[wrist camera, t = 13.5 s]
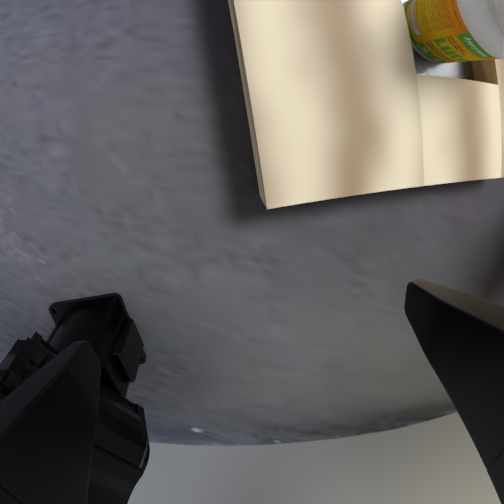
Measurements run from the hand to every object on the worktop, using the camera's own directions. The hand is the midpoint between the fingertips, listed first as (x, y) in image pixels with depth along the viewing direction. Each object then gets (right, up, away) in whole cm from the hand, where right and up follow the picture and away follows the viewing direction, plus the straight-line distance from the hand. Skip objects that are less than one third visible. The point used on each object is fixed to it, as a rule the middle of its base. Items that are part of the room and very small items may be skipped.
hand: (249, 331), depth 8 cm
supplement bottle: (+13, +18, +8) cm, 23 cm away
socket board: (+9, +15, +9) cm, 20 cm away
